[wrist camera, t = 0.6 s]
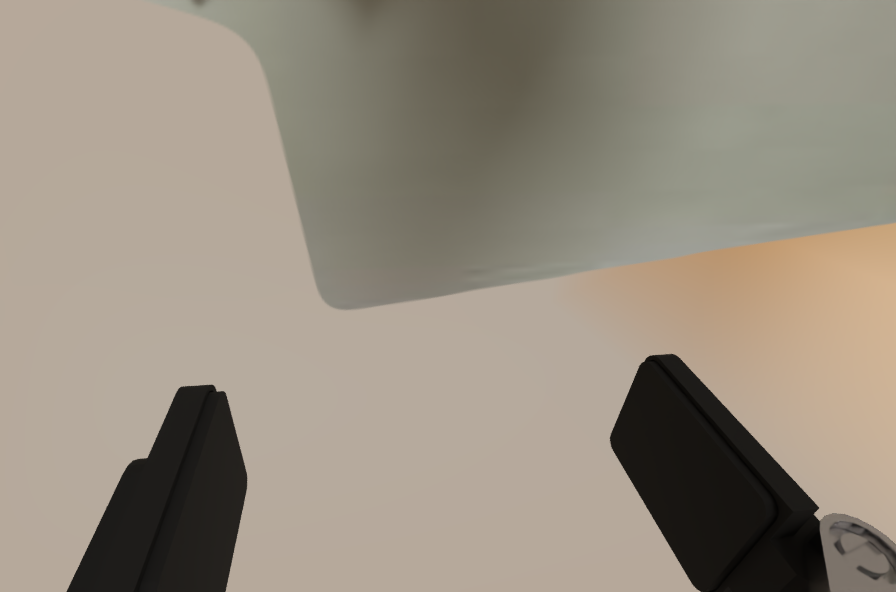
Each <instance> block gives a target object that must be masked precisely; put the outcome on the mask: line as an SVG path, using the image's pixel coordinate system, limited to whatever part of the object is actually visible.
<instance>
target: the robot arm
mask: <svg viewBox="0 0 896 592" xmlns="http://www.w3.org/2000/svg"><path fill="white" fill-rule="evenodd" d="M610 441H611V447H612V449H613V451H614V453H615V454H616V456H617V458H618V459H619V461H620V463H621V465H622V466H623V468H624V470H625V471H626V473H627V475H628V476H629V478H630V480H631V481H632V483H633V485H634V487H635V488H636V490H637V491H638V493H639V495H640V496H641V498H642V500H643V501H644V503H645V505H646V507H647V509H648V510H649V512H650V514H651V515H652V517H653V519H654V520H655V522H656V524H657V525H658V527H659V529H660V530H661V532H662V534H663V536H664V537H665V539H666V541H667V542H668V544H669V546H670V547H671V549H672V551H673V552H674V554H675V556H676V557H677V559H678V561H679V562H680V564H681V566H682V568H683V569H684V571H685V573H686V574H687V576H688V578H689V579H690V581H691V583H692V584H693V585H694V586H695V588H696V589H698V590H699V591H701V592H896V544H895V543H894V542H893V541H891V540H890V539H889V538H888V537H887V536H886V535H884V534H883V533H881V532H880V531H879V530H877V529H876V528H874V527H873V526H871V525H869V524H867V523H865V522H863V521H861V520H860V519H857V518H854V517H851V516H848V515H845V514H836V513H833V514H829V515H826V516H824V517H823V518H822V519H821V520H820V521H819V520H818V519H817V518H816V517H815V516H814V513H815V512H816V511H817V510H818V509H819V507H818V506H817V505H816V504H815V503H814V501H813V500H812V499H811V498H810V497H809V496H808V495H807V494H806V493H805V492H804V491H803V490H802V489H801V488H800V487H799V485H798V484H797V483H796V482H795V481H794V480H793V479H792V478H791V477H790V476H789V475H788V474H787V473H786V472H785V470H784V469H782V467H781V466H780V465H779V464H778V463H777V462H776V461H775V460H774V459H773V458H772V456H771V455H770V454H769V453H768V452H767V451H766V450H765V449H764V448H763V447H762V446H761V445H760V444H759V443H758V441H757V440H756V439H755V438H754V437H753V436H752V435H751V434H750V433H749V432H748V431H747V430H746V429H745V428H744V427H743V425H742V424H741V423H740V422H739V421H738V420H737V419H736V418H735V417H734V416H733V415H732V414H731V413H730V411H729V410H728V409H727V408H726V407H725V406H724V405H723V404H722V403H721V402H720V401H719V400H718V399H717V398H716V397H715V395H714V394H713V393H712V392H711V391H710V390H709V389H708V388H707V387H706V386H705V385H704V384H703V383H702V382H701V381H700V379H699V378H698V377H697V376H696V375H695V374H694V373H693V372H692V371H691V370H690V369H689V368H688V367H687V366H686V364H685V363H684V362H683V361H682V360H681V359H680V358H679V357H678V356H676V355H674V354H666V355H652V356H649V357H647V358H646V360H645V362H643V363H641V365H640V366H639V369H638V371H637V373H636V376H635V378H634V381H633V383H632V385H631V388H630V390H629V393H628V395H627V397H626V400H625V402H624V405H623V407H622V409H621V411H620V414H619V417H618V419H617V421H616V423H615V426H614V428H613V431H612V433H611V436H610ZM246 490H247V473H246V469H245V465H244V461H243V457H242V453H241V450H240V446H239V442H238V438H237V434H236V430H235V427H234V423H233V419H232V415H231V411H230V408H229V404H228V400H227V396H226V393H225V392H224V391H221V392H217V391H216V389H215V387H214V385H200V386H185V387H180V388H179V389H178V391H177V393H176V395H175V397H174V399H173V402H172V404H171V406H170V408H169V411H168V413H167V415H166V418H165V420H164V422H163V424H162V427H161V429H160V431H159V433H158V436H157V438H156V440H155V442H154V445H153V447H152V450H151V451H150V454H149V456H148V458H146V459H137V460H134V461H132V462H131V463H130V464H129V465H128V466H127V468H126V470H125V471H124V473H123V475H122V477H121V479H120V481H119V483H118V485H117V487H116V489H115V492H114V494H113V496H112V498H111V500H110V502H109V504H108V506H107V508H106V510H105V512H104V515H103V517H102V519H101V521H100V523H99V525H98V527H97V529H96V531H95V534H94V535H93V538H92V540H91V542H90V544H89V546H88V548H87V550H86V552H85V554H84V556H83V558H82V561H81V563H80V565H79V567H78V569H77V571H76V573H75V575H74V577H73V580H72V581H71V584H70V586H69V588H68V590H67V592H225V591H226V587H227V582H228V577H229V572H230V567H231V563H232V558H233V553H234V548H235V543H236V539H237V534H238V529H239V524H240V519H241V514H242V510H243V505H244V500H245V495H246Z"/></svg>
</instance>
